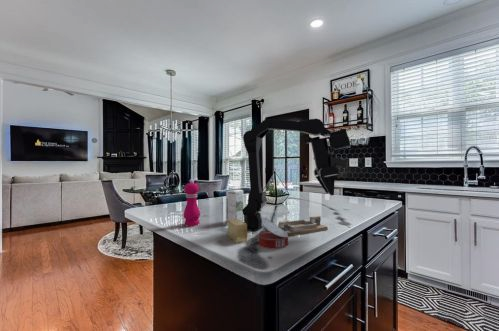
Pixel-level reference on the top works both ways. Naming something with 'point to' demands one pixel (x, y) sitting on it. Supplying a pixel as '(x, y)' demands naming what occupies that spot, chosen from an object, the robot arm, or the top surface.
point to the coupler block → (237, 230)
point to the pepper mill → (191, 204)
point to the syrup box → (234, 205)
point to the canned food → (272, 236)
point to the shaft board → (302, 226)
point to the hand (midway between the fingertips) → (329, 194)
